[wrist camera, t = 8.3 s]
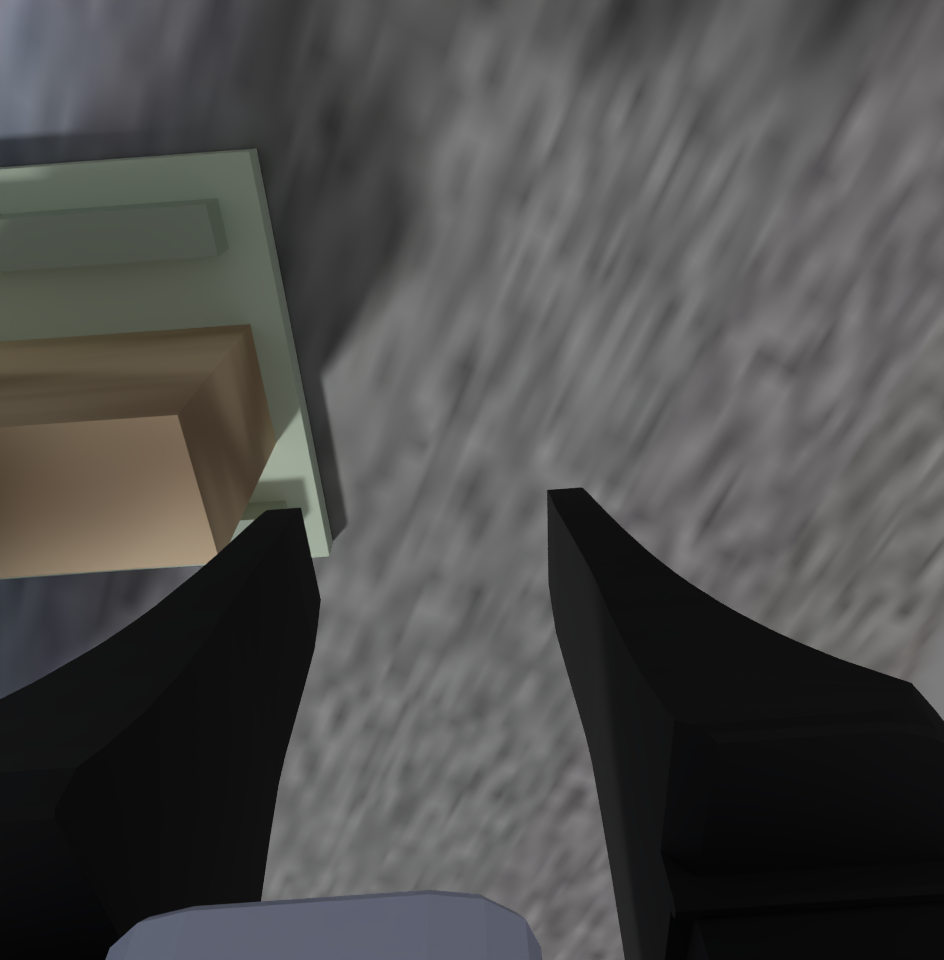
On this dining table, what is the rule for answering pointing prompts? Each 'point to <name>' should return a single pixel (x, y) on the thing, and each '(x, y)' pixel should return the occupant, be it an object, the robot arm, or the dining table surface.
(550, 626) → the dining table surface
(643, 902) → the robot arm
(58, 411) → the panel block
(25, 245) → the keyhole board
